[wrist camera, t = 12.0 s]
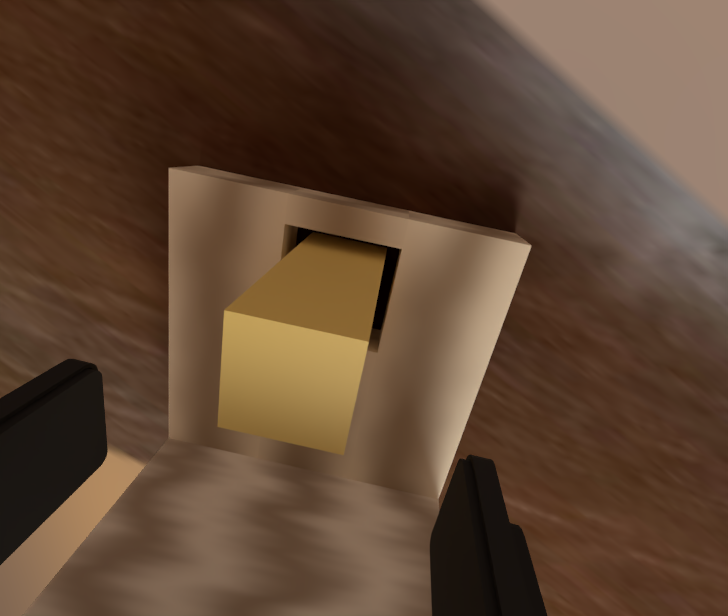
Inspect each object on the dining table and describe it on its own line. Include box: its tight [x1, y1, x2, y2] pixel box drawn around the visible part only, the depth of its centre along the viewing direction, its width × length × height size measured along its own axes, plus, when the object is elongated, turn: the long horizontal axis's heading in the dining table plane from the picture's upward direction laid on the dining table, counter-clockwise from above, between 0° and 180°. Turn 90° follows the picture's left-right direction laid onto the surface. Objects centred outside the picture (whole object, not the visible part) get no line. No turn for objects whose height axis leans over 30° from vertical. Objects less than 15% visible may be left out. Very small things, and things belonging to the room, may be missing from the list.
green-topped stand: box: [22, 166, 531, 616], centre depth 17 cm, size 20×18×19 cm
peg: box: [217, 232, 387, 455], centre depth 18 cm, size 4×4×12 cm
